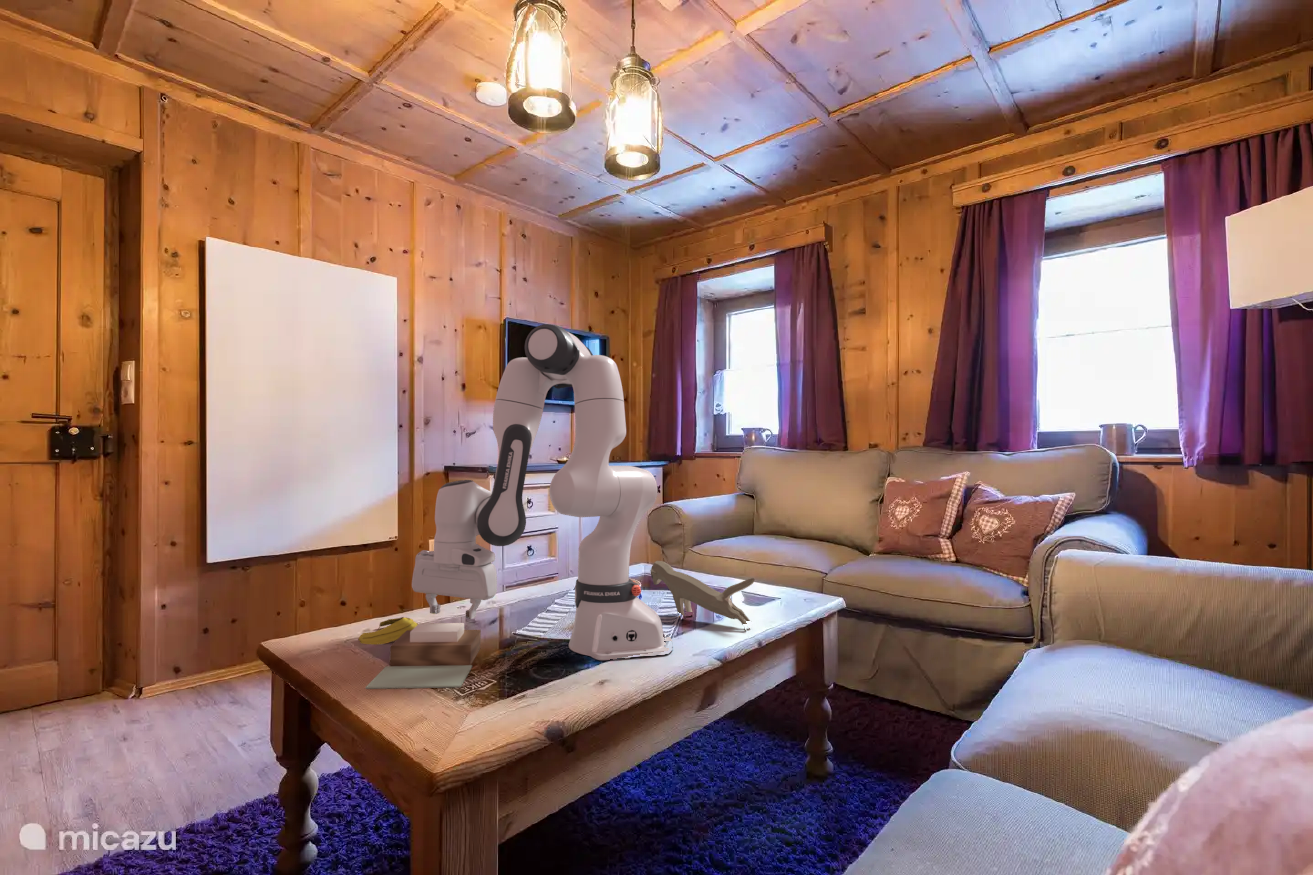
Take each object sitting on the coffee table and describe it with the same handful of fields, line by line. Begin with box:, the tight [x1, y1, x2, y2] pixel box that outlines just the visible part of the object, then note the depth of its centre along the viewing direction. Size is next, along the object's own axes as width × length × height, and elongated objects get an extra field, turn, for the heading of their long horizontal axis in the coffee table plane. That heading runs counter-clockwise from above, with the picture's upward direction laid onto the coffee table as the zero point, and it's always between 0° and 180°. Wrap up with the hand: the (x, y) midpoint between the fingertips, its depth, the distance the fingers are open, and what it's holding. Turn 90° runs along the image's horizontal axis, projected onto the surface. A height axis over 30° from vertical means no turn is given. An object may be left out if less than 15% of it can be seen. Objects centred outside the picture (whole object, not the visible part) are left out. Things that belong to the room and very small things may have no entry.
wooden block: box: [389, 629, 482, 666], centre depth 119 cm, size 15×10×4 cm, turn 96°
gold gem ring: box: [358, 616, 419, 645], centre depth 133 cm, size 13×13×4 cm
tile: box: [410, 622, 465, 642], centre depth 119 cm, size 9×6×2 cm, turn 96°
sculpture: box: [649, 560, 755, 625], centre depth 149 cm, size 6×18×30 cm
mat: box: [365, 664, 473, 690], centre depth 108 cm, size 16×10×1 cm, turn 96°
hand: (452, 615), depth 131 cm, fingers open, 8 cm apart
